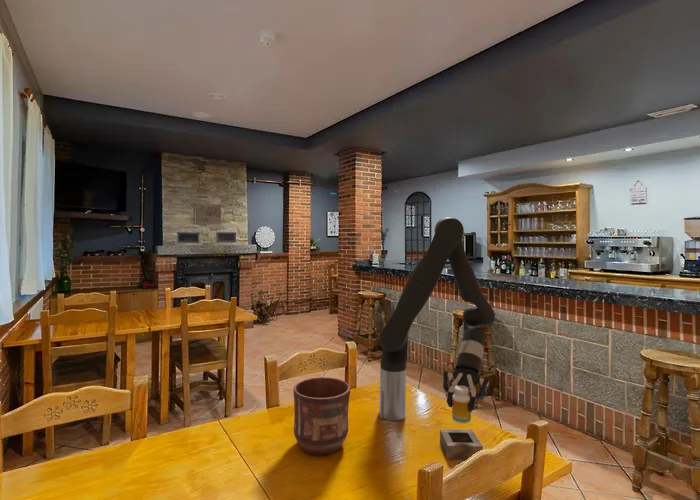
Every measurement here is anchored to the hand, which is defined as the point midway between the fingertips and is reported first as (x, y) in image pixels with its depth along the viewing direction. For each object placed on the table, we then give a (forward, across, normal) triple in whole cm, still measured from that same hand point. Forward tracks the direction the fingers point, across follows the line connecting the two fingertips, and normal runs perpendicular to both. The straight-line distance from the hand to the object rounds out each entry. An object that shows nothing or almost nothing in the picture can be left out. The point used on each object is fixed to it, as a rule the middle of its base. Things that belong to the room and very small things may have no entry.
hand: (459, 408), depth 116 cm
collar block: (+8, 0, +11) cm, 14 cm away
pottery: (+22, -38, -3) cm, 44 cm away
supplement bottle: (+2, 0, +4) cm, 5 cm away
